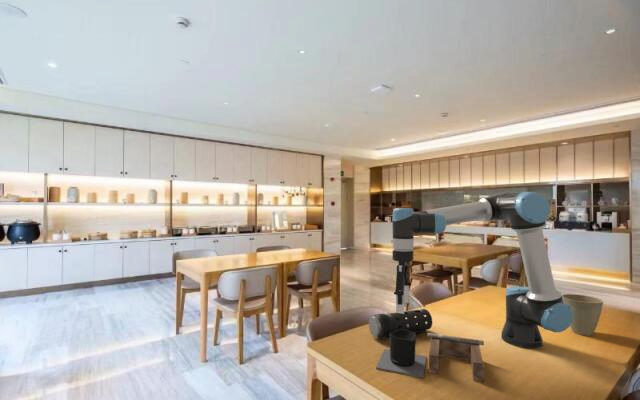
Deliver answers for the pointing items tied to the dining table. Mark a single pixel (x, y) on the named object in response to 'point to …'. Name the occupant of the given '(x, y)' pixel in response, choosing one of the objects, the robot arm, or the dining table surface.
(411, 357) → the pen holder
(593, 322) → the plant pot
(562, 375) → the dining table surface
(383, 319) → the muzzle brake
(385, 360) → the mat
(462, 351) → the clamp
